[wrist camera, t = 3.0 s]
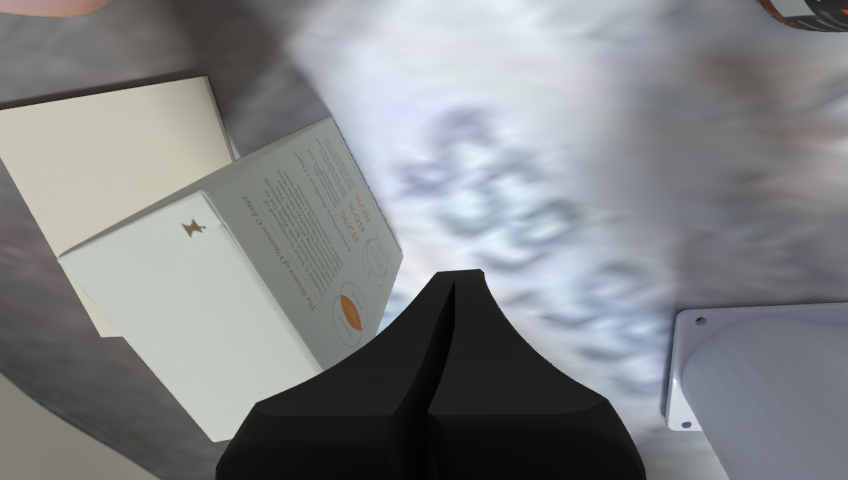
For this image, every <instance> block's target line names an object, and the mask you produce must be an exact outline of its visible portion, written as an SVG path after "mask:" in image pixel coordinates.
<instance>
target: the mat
mask: <svg viewBox="0 0 848 480" xmlns="http://www.w3.org/2000/svg"><path fill="white" fill-rule="evenodd" d="M0 157H1V159H2V161H3V163H4V164H5V166H6V168H7V170H8V172H9V173H10V175H11V177H12V179H13V180H14V182H15V184H16V186H17V188H18V189H19V191H20V193H21V195H22V197H23V198H24V200H25V202H26V204H27V205H28V207H29V209H30V211H31V213H32V214H33V216H34V218H35V220H36V221H37V223H38V225H39V227H40V229H41V230H42V232H43V234H44V236H45V238H46V239H47V241H48V243H49V245H50V246H51V248H52V250H53V252H54V254H55V255H56V257H57V258H58V257H59V255H60V254H62V253H63V252H65V251H66V250H68V249H70V248H71V247H73V246H75V245H77V244H79V243H81V242H82V241H84V240H86V239H88V238H90V237H92V236H93V235H95V234H97V233H99V232H101V231H103V230H105V229H106V228H108V227H110V226H112V225H114V224H116V223H118V222H120V221H121V220H123V219H125V218H127V217H129V216H131V215H133V214H135V213H136V212H138V211H140V210H142V209H144V208H146V207H148V206H150V205H152V204H153V203H155V202H157V201H159V200H161V199H163V198H165V197H167V196H169V195H171V194H172V193H174V192H176V191H178V190H180V189H182V188H184V187H186V186H188V185H190V184H191V183H193V182H195V181H197V180H199V179H201V178H203V177H205V176H207V175H209V174H211V173H212V172H214V171H216V170H218V169H220V168H222V167H224V166H226V165H228V164H230V163H232V162H234V161H235V158H234V155H233V152H232V149H231V146H230V143H229V140H228V137H227V134H226V131H225V128H224V125H223V122H222V119H221V116H220V113H219V110H218V107H217V104H216V101H215V98H214V95H213V92H212V89H211V86H210V83H209V80H208V77H207V76H203V77H197V78H191V79H185V80H179V81H173V82H167V83H161V84H155V85H149V86H143V87H137V88H131V89H125V90H119V91H113V92H107V93H101V94H95V95H89V96H83V97H77V98H71V99H65V100H59V101H53V102H47V103H41V104H35V105H29V106H24V107H18V108H12V109H6V110H0ZM61 266H62V265H61ZM62 268H63V270H64V271H65V273H66V275H67V277H68V279H69V280H70V282H71V284H72V286H73V288H74V289H75V291H76V293H77V295H78V296H79V298H80V300H81V302H82V304H83V305H84V307H85V309H86V311H87V312H88V314H89V316H90V318H91V320H92V321H93V323H94V325H95V327H96V329H97V330H98V332H99V334H100V336H101V337H116V336H122V335H121V334H120V333H119V332H118V330H117V329H116V328H115V327H114V326H113V325H112V323H111V322H110V321H109V320H108V319H107V318H106V317H105V315H104V314H103V313H102V312H101V311H100V309H99V308H98V307H97V306H96V305H95V304H94V303H93V301H92V300H91V299H90V298H89V297H88V295H87V294H86V293H85V292H84V291H83V290H82V288H81V287H80V286H79V285H78V284H77V283H76V281H75V280H74V279H73V278H72V277H71V275H70V274H69V273H68V272H67V271H66V270H65V269H64V267H63V266H62Z"/></svg>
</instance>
